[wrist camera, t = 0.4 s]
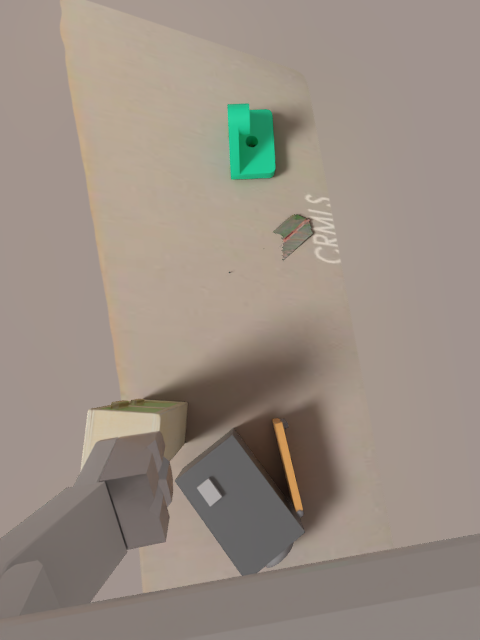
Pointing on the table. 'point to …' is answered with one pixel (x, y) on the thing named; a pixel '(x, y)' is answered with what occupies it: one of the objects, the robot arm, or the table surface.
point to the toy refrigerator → (137, 423)
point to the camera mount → (250, 142)
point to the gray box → (240, 505)
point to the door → (287, 464)
